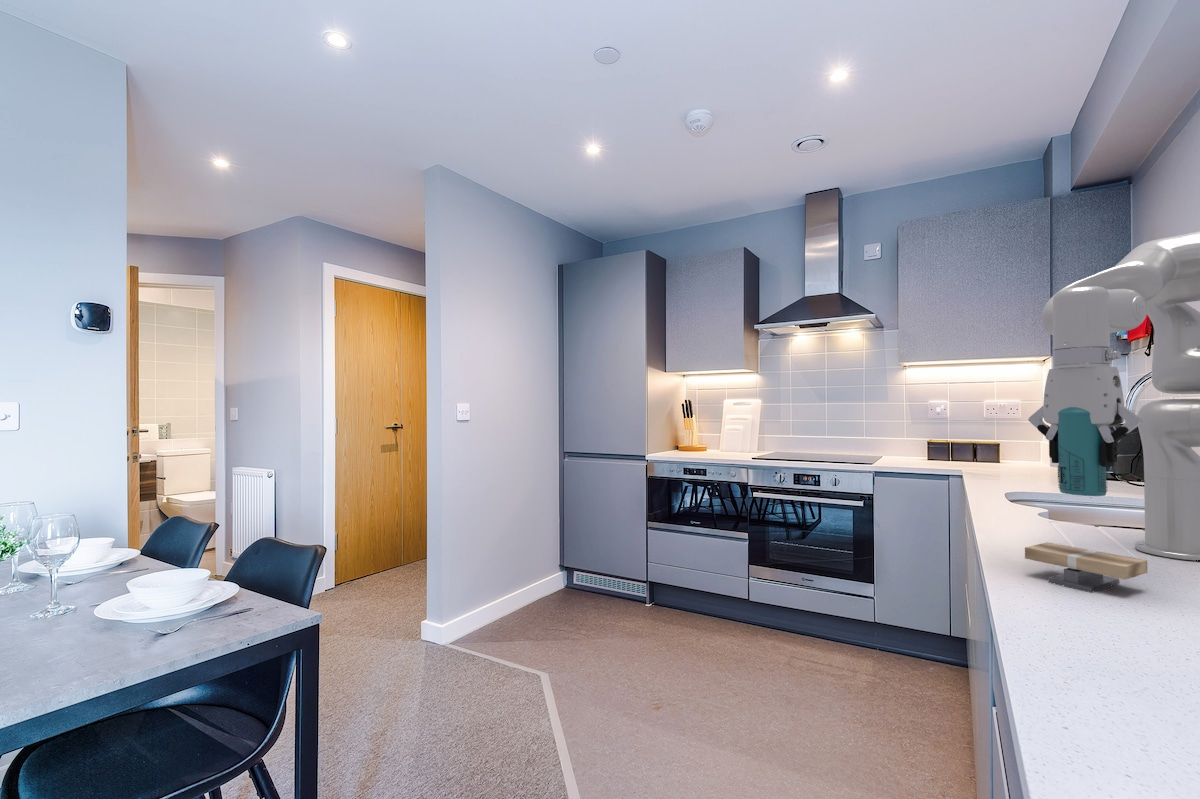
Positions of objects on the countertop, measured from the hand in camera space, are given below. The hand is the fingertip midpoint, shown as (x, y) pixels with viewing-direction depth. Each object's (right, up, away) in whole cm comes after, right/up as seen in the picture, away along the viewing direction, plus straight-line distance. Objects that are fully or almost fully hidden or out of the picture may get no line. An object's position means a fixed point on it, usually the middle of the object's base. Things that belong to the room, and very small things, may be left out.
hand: (1082, 463), depth 97 cm
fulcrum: (0, -20, 0) cm, 20 cm away
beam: (0, -17, 0) cm, 17 cm away
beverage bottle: (0, -7, 0) cm, 7 cm away
